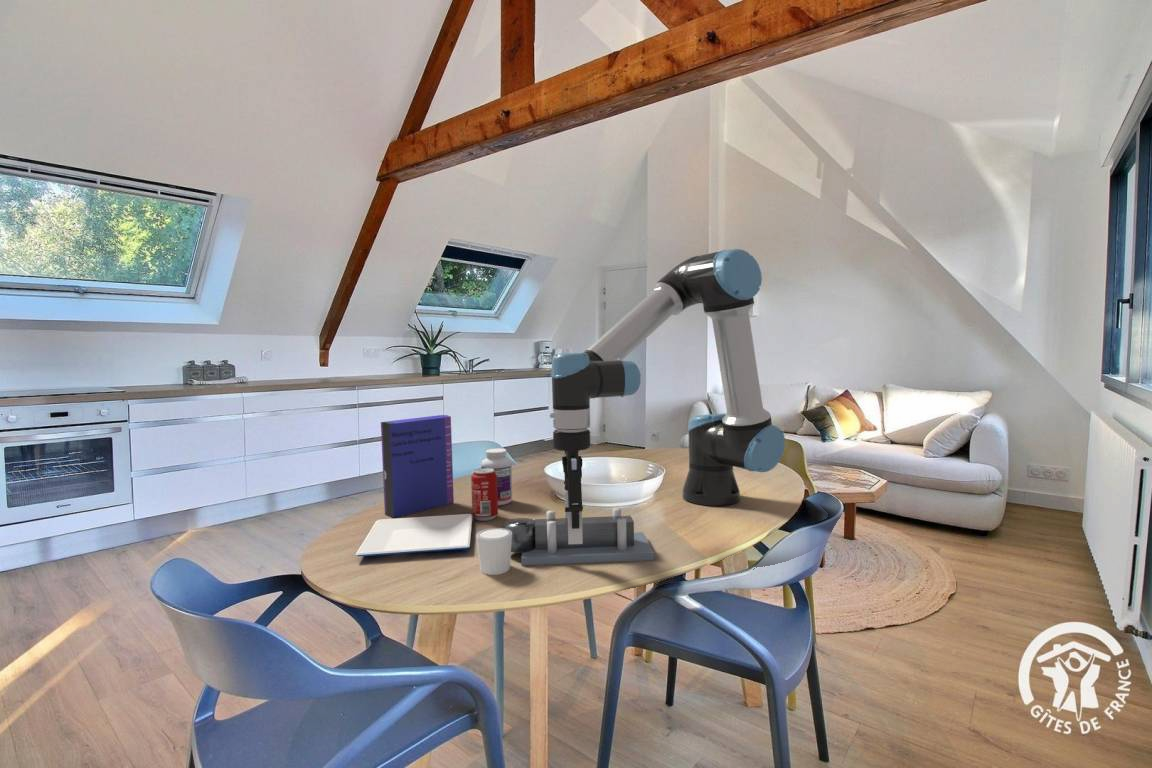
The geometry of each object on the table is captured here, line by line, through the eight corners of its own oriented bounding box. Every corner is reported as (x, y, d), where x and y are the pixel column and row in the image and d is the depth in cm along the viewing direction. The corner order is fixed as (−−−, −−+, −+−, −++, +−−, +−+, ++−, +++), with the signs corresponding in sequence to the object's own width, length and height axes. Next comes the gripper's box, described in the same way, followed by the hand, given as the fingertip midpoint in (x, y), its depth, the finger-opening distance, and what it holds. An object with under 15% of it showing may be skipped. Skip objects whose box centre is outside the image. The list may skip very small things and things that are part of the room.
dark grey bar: (630, 537, 119) (629, 513, 119) (635, 548, 113) (634, 523, 112) (506, 541, 117) (505, 518, 117) (504, 553, 111) (503, 528, 111)
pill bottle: (487, 498, 156) (485, 447, 155) (515, 498, 155) (514, 447, 154) (478, 506, 148) (476, 453, 147) (508, 507, 147) (506, 453, 146)
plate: (355, 564, 111) (354, 554, 111) (377, 527, 133) (376, 519, 133) (469, 555, 115) (469, 545, 115) (472, 521, 137) (472, 513, 137)
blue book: (444, 500, 155) (441, 414, 154) (453, 503, 152) (450, 415, 150) (384, 514, 143) (380, 421, 141) (393, 518, 140) (389, 423, 138)
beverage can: (500, 514, 142) (499, 467, 141) (494, 522, 135) (493, 473, 134) (476, 513, 142) (474, 467, 141) (469, 521, 136) (467, 473, 135)
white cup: (507, 577, 103) (506, 540, 103) (471, 575, 104) (470, 538, 104) (517, 562, 110) (516, 528, 109) (484, 561, 111) (483, 526, 111)
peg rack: (643, 538, 122) (642, 505, 122) (654, 560, 110) (653, 522, 110) (523, 543, 120) (522, 509, 120) (521, 565, 109) (520, 527, 108)
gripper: (551, 421, 125) (553, 513, 127) (554, 440, 101) (556, 555, 102) (585, 420, 126) (586, 512, 127) (596, 439, 101) (597, 553, 103)
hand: (573, 531), depth 115 cm, fingers open, 13 cm apart
